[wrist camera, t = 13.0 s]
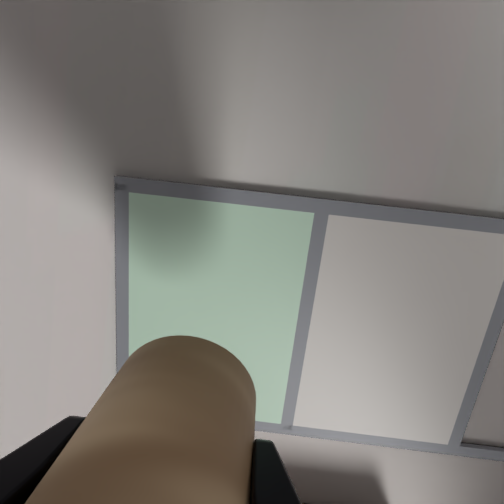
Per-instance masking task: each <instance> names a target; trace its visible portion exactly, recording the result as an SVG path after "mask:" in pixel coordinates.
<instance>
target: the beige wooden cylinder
mask: <svg viewBox="0 0 504 504" xmlns="http://www.w3.org/2000/svg"><path fill="white" fill-rule="evenodd" d="M255 414H256V391H255V387H254V383H253V381H252V379H251V376H250V374H249V373H248V371H247V369H246V368H245V366H244V365H243V364H242V363H241V361H240V360H239V359H238V358H236V357H235V356H234V355H233V354H232V353H231V352H229V351H228V350H227V349H225V348H223V347H222V346H220V345H218V344H216V343H214V342H211V341H209V340H206V339H203V338H199V337H194V336H184V335H176V336H167V337H162V338H158V339H155V340H152V341H150V342H148V343H146V344H144V345H143V346H141V347H140V348H138V349H137V350H136V351H135V352H134V353H132V354H131V356H130V357H129V358H128V359H127V360H126V362H125V363H124V365H123V366H122V367H121V369H120V370H119V372H118V373H117V374H116V376H115V377H114V379H113V380H112V381H111V383H110V384H109V386H108V387H107V388H106V390H105V391H104V393H103V394H102V395H101V397H100V398H99V400H98V401H97V403H96V404H95V405H94V407H93V408H92V410H91V411H90V412H89V414H88V415H87V417H86V418H85V419H84V421H83V422H82V424H81V425H80V426H79V428H78V429H77V431H76V432H75V433H74V435H73V436H72V438H71V439H70V440H69V442H68V443H67V445H66V446H65V448H64V449H63V450H62V452H61V453H60V455H59V456H58V457H57V459H56V460H55V462H54V463H53V464H52V466H51V467H50V469H49V470H48V471H47V473H46V474H45V476H44V477H43V478H42V480H41V481H40V483H39V484H38V486H37V487H36V488H35V490H34V491H33V493H32V494H31V495H30V497H29V498H28V500H27V501H26V502H25V504H250V494H251V477H252V459H253V443H254V432H255Z"/></svg>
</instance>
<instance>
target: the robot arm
mask: <svg viewBox="0 0 504 504" xmlns="http://www.w3.org/2000/svg"><path fill="white" fill-rule="evenodd" d="M85 418H86V417H79V416H69V417H67V418H65V419H63V420H62V421H60V422H59V423H57V424H56V425H54V426H52V427H51V428H49V429H48V430H46V431H45V432H43V433H41V434H40V435H38V436H37V437H35V438H34V439H32V440H30V441H29V442H27V443H26V444H24V445H23V446H21V447H19V448H18V449H16V450H15V451H13V452H12V453H10V454H8V455H7V456H5V457H4V458H2V459H0V504H25V502H26V501H27V500H28V498H29V497H30V495H31V494H32V493H33V491H34V490H35V488H36V487H37V486H38V484H39V483H40V481H41V480H42V478H43V477H44V476H45V474H46V473H47V471H48V470H49V469H50V467H51V466H52V464H53V463H54V462H55V460H56V459H57V457H58V456H59V455H60V453H61V452H62V450H63V449H64V448H65V446H66V445H67V443H68V442H69V440H70V439H71V438H72V436H73V435H74V433H75V432H76V431H77V429H78V428H79V426H80V425H81V424H82V422H83V421H84V419H85ZM250 504H301V501H300V499H299V497H298V495H297V493H296V490H295V488H294V486H293V484H292V482H291V480H290V477H289V475H288V473H287V471H286V469H285V466H284V464H283V462H282V460H281V458H280V456H279V453H278V451H277V449H276V447H275V445H274V443H273V442H272V441H269V440H262V439H256V440H254V443H253V459H252V477H251V494H250Z"/></svg>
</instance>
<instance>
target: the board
mask: <svg viewBox="0 0 504 504" xmlns="http://www.w3.org/2000/svg"><path fill="white" fill-rule="evenodd" d="M115 262H116V350H117V373H118V372H119V370H120V369H121V367H122V366H123V365H124V363H125V362H126V360H127V359H128V358H129V357H130V356H131V354H132V353H134V352H135V351H136V350H137V349H138V348H140V347H141V346H143V345H144V344H146V343H148V342H150V341H152V340H155V339H158V338H162V337H167V336H176V335H184V336H194V337H199V338H203V339H206V340H209V341H211V342H214V343H216V344H218V345H220V346H222V347H223V348H225V349H227V350H228V351H229V352H231V353H232V354H233V355H234V356H235V357H236V358H238V359H239V360H240V361H241V363H242V364H243V365H244V366H245V368H246V369H247V371H248V373H249V374H250V376H251V379H252V381H253V383H254V387H255V391H256V414H255V431H263V432H271V433H279V434H287V435H295V436H303V437H311V438H319V439H327V440H335V441H343V442H351V443H359V444H367V445H375V446H383V447H391V448H399V449H407V450H415V451H423V452H431V453H439V454H447V455H455V456H463V457H471V458H479V459H487V460H495V461H503V462H504V448H499V447H491V446H483V445H475V444H467V443H461V441H462V438H463V436H464V433H465V430H466V427H467V424H468V421H469V419H470V416H471V413H472V410H473V407H474V404H475V402H476V399H477V396H478V393H479V390H480V387H481V385H482V382H483V379H484V376H485V373H486V370H487V368H488V365H489V362H490V359H491V356H492V353H493V351H494V348H495V345H496V342H497V339H498V336H499V334H500V331H501V328H502V325H503V322H504V219H502V218H493V217H484V216H475V215H466V214H457V213H448V212H439V211H430V210H421V209H412V208H403V207H394V206H385V205H376V204H367V203H358V202H349V201H340V200H331V199H322V198H313V197H304V196H295V195H286V194H277V193H268V192H259V191H250V190H241V189H232V188H223V187H214V186H205V185H196V184H187V183H178V182H169V181H160V180H151V179H142V178H133V177H124V176H115Z"/></svg>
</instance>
